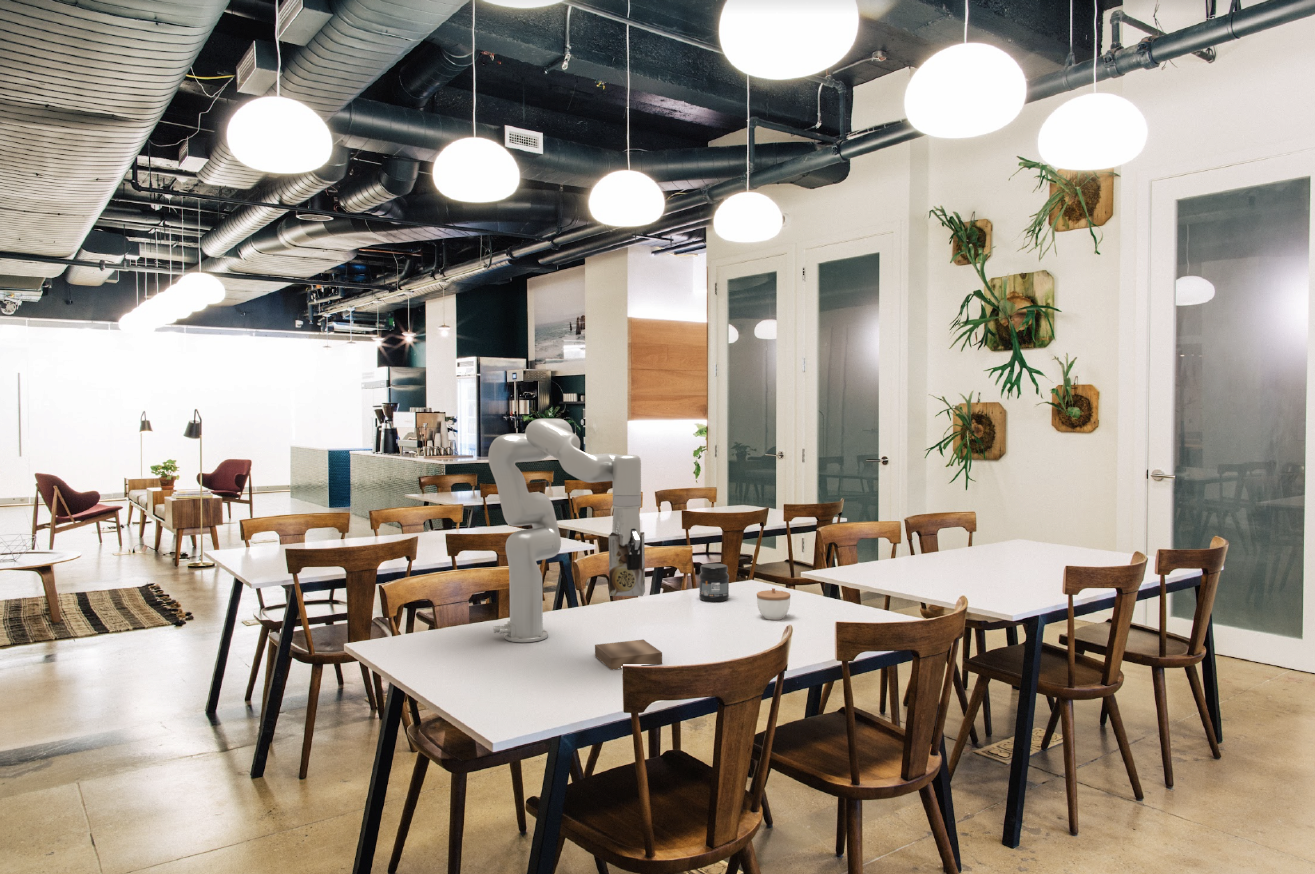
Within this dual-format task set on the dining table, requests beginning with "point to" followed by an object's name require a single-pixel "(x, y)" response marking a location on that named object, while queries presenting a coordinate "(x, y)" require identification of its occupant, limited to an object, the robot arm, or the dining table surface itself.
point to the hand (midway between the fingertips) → (627, 566)
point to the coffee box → (625, 569)
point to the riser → (627, 653)
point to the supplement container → (714, 583)
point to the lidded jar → (773, 603)
